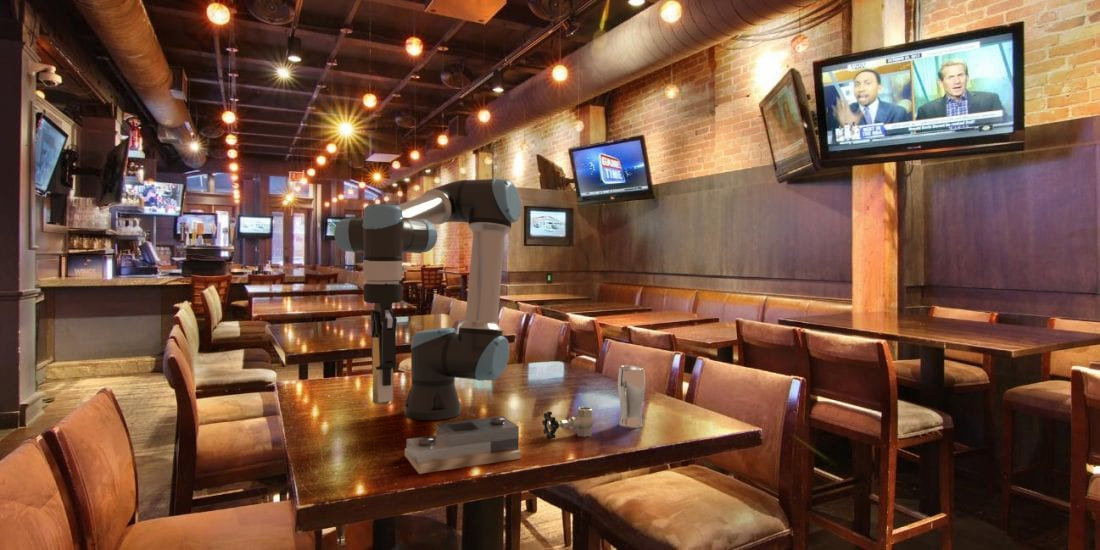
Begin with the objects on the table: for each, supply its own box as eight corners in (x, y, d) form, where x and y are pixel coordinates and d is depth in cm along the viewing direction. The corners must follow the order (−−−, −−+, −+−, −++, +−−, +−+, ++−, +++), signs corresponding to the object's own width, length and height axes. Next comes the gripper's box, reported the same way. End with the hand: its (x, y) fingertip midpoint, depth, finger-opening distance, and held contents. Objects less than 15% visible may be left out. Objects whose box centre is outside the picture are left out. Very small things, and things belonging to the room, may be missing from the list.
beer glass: (643, 429, 150) (644, 370, 150) (615, 427, 151) (617, 369, 151) (644, 422, 157) (646, 365, 156) (618, 420, 158) (619, 364, 158)
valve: (585, 430, 149) (541, 435, 144) (586, 404, 149) (542, 408, 144) (598, 438, 143) (552, 443, 138) (598, 410, 143) (553, 415, 138)
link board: (419, 473, 117) (419, 466, 117) (404, 455, 128) (404, 448, 128) (521, 458, 127) (521, 451, 127) (499, 442, 138) (499, 436, 138)
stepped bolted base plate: (417, 463, 118) (417, 434, 118) (406, 450, 126) (406, 422, 126) (518, 449, 128) (518, 421, 128) (502, 437, 136) (502, 411, 136)
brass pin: (368, 402, 119) (368, 337, 118) (381, 398, 122) (381, 335, 122) (384, 405, 117) (384, 339, 117) (397, 400, 121) (397, 336, 120)
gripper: (412, 284, 113) (412, 406, 114) (392, 280, 128) (392, 387, 129) (371, 285, 109) (371, 411, 110) (356, 280, 125) (356, 391, 126)
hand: (383, 398), depth 120 cm, fingers closed on brass pin, 4 cm apart
